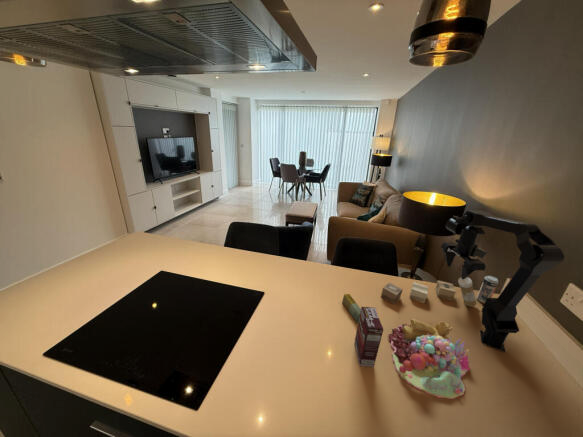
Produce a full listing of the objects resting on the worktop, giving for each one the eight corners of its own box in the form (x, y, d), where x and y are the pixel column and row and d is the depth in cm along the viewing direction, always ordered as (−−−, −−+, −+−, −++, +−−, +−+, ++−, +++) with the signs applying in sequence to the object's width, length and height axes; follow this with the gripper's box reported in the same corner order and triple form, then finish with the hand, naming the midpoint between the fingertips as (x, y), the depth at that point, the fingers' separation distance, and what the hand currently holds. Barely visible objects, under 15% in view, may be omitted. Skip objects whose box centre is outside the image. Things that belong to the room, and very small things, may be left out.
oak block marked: (452, 301, 102) (456, 291, 100) (437, 296, 104) (440, 287, 102) (449, 292, 107) (452, 283, 105) (434, 289, 109) (437, 280, 107)
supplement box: (353, 342, 79) (360, 305, 73) (367, 343, 79) (376, 307, 73) (358, 366, 71) (367, 327, 65) (374, 368, 71) (384, 328, 65)
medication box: (362, 322, 88) (365, 314, 86) (356, 323, 87) (359, 315, 86) (347, 300, 98) (349, 293, 97) (341, 301, 97) (343, 293, 96)
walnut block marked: (394, 304, 98) (396, 294, 96) (380, 297, 102) (383, 287, 100) (400, 298, 102) (402, 288, 100) (387, 291, 106) (389, 282, 104)
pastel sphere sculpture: (382, 323, 88) (387, 304, 85) (448, 333, 85) (455, 314, 82) (400, 391, 65) (407, 368, 62) (491, 409, 62) (504, 386, 59)
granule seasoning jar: (462, 299, 102) (456, 277, 98) (473, 297, 101) (468, 275, 96) (466, 308, 98) (460, 285, 94) (479, 306, 97) (473, 283, 92)
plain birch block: (424, 303, 100) (427, 294, 98) (409, 298, 102) (411, 288, 101) (425, 295, 104) (428, 286, 103) (410, 290, 107) (413, 281, 105)
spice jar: (477, 301, 102) (486, 279, 98) (474, 295, 106) (484, 273, 102) (490, 305, 100) (500, 282, 96) (487, 299, 104) (497, 277, 100)
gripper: (506, 252, 85) (491, 286, 91) (469, 231, 103) (458, 261, 108) (477, 250, 85) (463, 285, 91) (445, 230, 102) (435, 260, 108)
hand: (455, 272), depth 99 cm, fingers open, 9 cm apart
